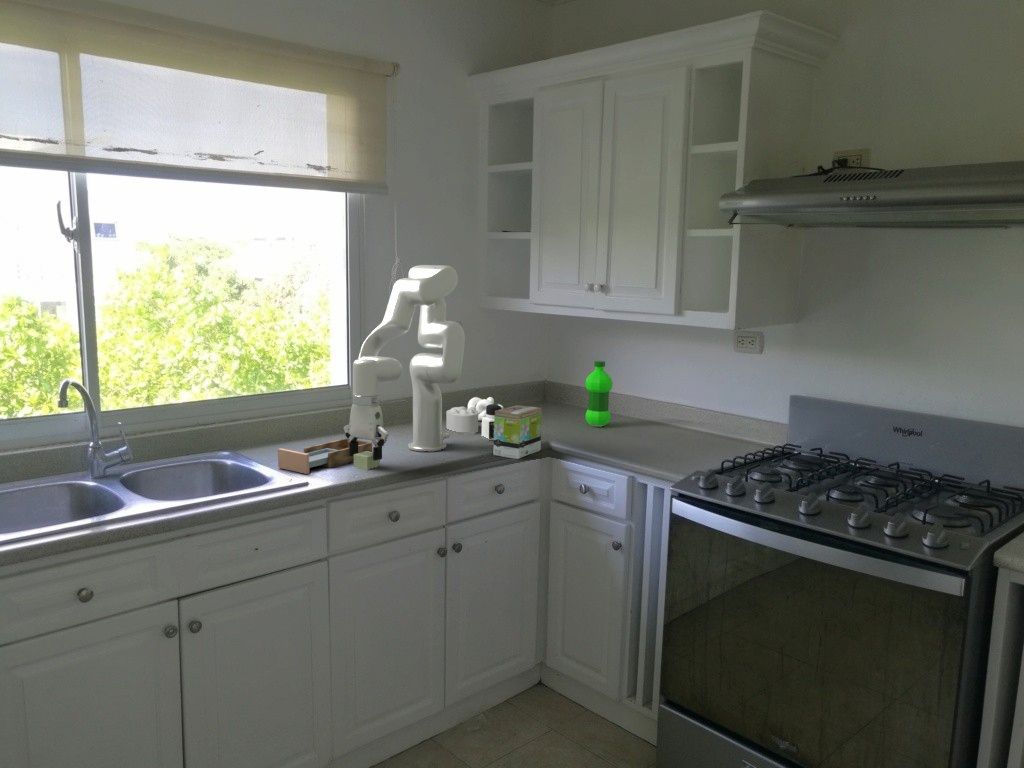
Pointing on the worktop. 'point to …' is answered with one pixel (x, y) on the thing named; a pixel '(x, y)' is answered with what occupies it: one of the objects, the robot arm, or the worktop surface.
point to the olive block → (365, 460)
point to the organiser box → (339, 451)
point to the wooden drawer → (302, 459)
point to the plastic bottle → (598, 395)
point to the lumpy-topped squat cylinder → (462, 419)
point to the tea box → (517, 431)
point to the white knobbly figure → (480, 405)
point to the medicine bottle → (489, 420)
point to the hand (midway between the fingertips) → (365, 457)
